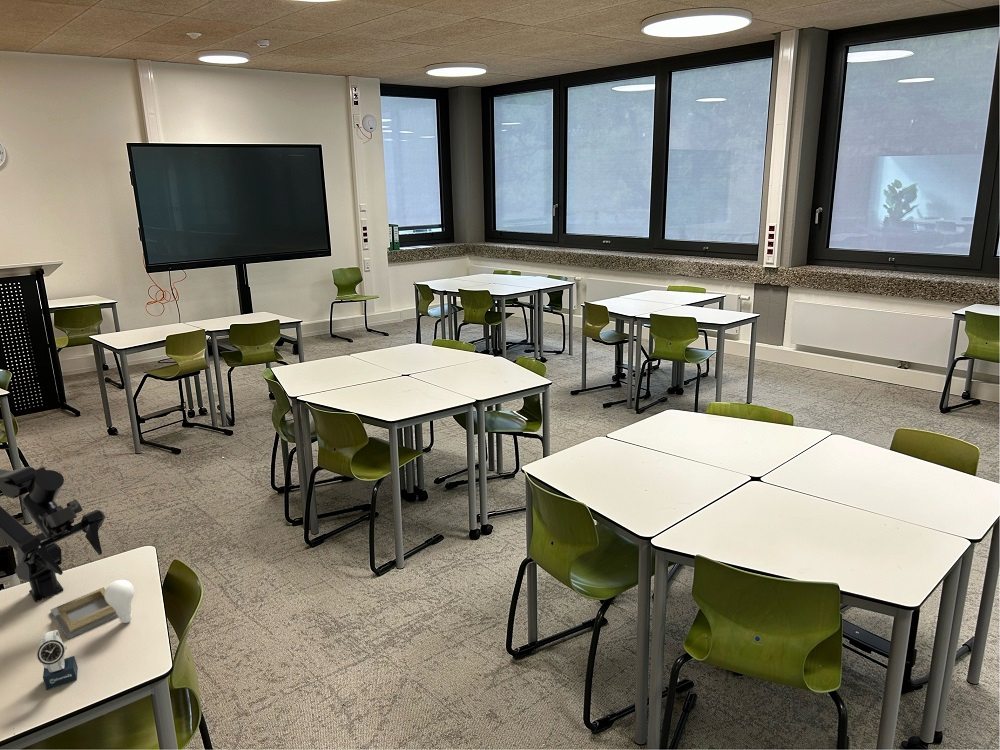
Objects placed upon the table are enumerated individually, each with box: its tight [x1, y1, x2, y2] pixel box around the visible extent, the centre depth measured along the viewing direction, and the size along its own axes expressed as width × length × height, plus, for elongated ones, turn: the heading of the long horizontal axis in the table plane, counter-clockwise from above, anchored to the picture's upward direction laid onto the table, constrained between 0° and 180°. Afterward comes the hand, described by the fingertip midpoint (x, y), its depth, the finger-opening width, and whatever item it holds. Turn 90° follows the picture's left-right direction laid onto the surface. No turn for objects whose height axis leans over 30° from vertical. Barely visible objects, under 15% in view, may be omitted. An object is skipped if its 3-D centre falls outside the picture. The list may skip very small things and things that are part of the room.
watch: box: [36, 629, 79, 690], centre depth 148 cm, size 6×8×11 cm
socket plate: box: [50, 587, 119, 640], centre depth 171 cm, size 15×12×3 cm
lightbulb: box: [104, 579, 135, 624], centre depth 165 cm, size 6×6×11 cm
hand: (81, 563), depth 166 cm, fingers open, 9 cm apart
